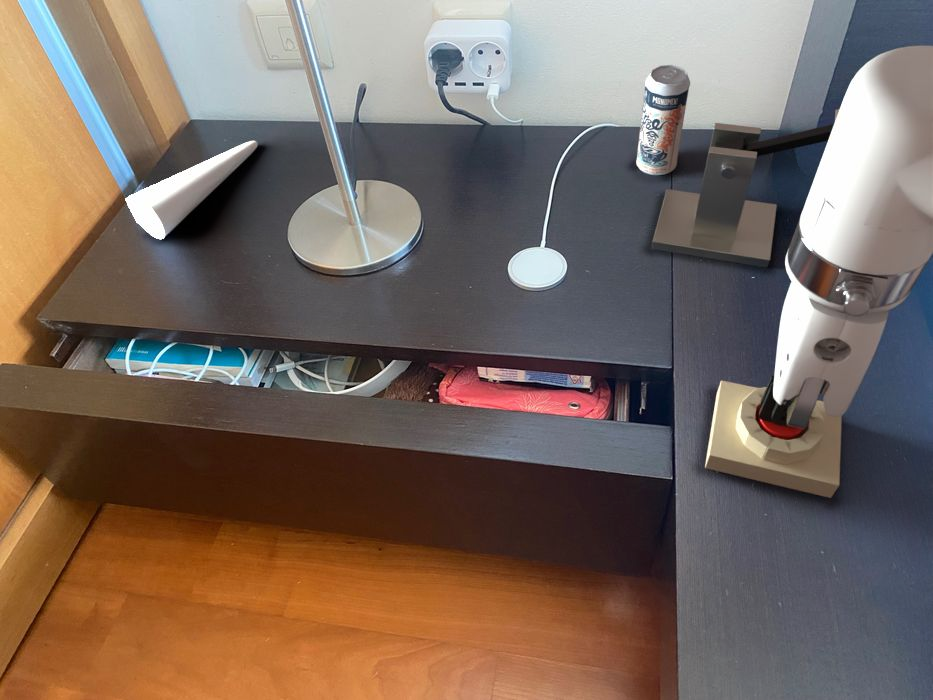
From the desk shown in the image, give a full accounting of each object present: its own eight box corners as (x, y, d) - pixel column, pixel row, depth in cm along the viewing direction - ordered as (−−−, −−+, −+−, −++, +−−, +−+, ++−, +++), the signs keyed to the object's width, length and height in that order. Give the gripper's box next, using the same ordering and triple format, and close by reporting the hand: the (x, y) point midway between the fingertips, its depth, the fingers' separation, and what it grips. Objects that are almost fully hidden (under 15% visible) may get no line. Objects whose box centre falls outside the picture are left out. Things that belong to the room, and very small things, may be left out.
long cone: (290, 171, 96) (171, 245, 85) (259, 160, 99) (140, 230, 89) (278, 130, 92) (151, 203, 81) (246, 121, 95) (120, 189, 85)
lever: (854, 122, 68) (850, 100, 66) (853, 154, 65) (849, 132, 63) (723, 153, 74) (717, 133, 73) (717, 183, 72) (710, 163, 70)
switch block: (834, 419, 63) (848, 392, 60) (831, 498, 59) (846, 474, 56) (716, 394, 66) (725, 367, 63) (704, 468, 61) (713, 443, 58)
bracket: (774, 212, 80) (803, 120, 71) (767, 268, 75) (797, 176, 66) (665, 197, 84) (679, 106, 74) (651, 249, 78) (665, 159, 69)
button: (801, 415, 61) (807, 404, 60) (798, 451, 59) (804, 440, 58) (756, 406, 62) (761, 394, 61) (752, 440, 60) (757, 429, 59)
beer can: (628, 170, 87) (638, 79, 78) (647, 149, 89) (659, 58, 80) (664, 183, 85) (678, 91, 76) (683, 161, 87) (699, 69, 78)
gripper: (926, 357, 40) (824, 507, 54) (917, 187, 48) (831, 356, 62) (782, 330, 42) (720, 482, 56) (798, 172, 50) (741, 338, 64)
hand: (779, 415), depth 59 cm, fingers closed
